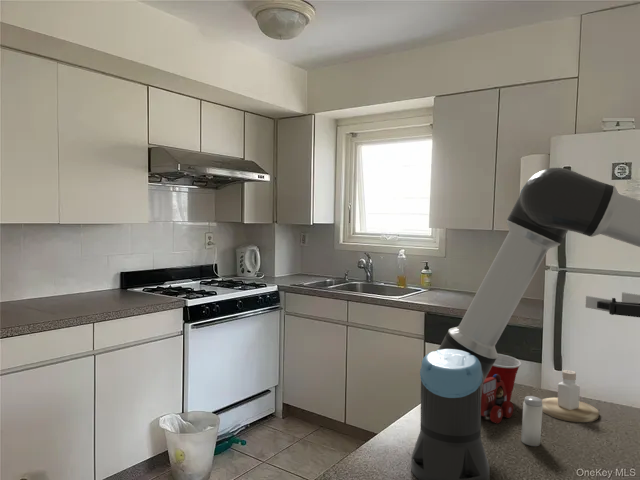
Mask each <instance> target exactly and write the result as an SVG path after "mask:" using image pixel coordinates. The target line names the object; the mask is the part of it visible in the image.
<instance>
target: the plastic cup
mask: <svg viewBox="0 0 640 480" xmlns="http://www.w3.org/2000/svg"><path fill="white" fill-rule="evenodd" d="M497 354H498V357H497V358H496V360H495V362H494V364H493V366H492V368H491V369H490V371H489V373H488V375H487V377H486V378H489V377H493V375H494V374H498V375H500V377H501V380H502V381H503V382H504V385H505V389H506V392H507V401H509V402H511V399H512V394H513V390H514V386H515V383H516V382H515V381H516V378H517V377H516V376H517V373H518V370H519V368H520V367H521V366H522V362H521V360H519V359H517V358H516V357H513V356H511V355H506V354H502V353H497ZM486 378H485V379H486Z"/></svg>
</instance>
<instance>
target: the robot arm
mask: <svg viewBox="0 0 640 480" xmlns="http://www.w3.org/2000/svg"><path fill="white" fill-rule="evenodd" d="M506 223H507V228H508V233H507V235H506V237H505V238H504V240H503V241H502V244H501V246H500V248H499V249H498V252H497V254H496V255H495V257H494V259H493V261H492V263H491V265H490V267H489V268H488V271H487V272H486V274H485V276H484V278H483V280H482V281H481V284H480V285H479V288H478V289H477V291H476V293H475V295H474V297H473V299H472V300H471V302H470V305H469V306H468V308H467V310H466V312H465V314H464V315H463V317H462V319H461V321H460V323H459V324H458V326H455V327H454V326H453V327H451V328H449V329H448V331H447V333H446V334H445V336H444V338H443V340H442V342H441V344H440V346H439V347H438V348H437V349H436V350H435V351H430V352H428V353H427V354H425V356H424V357H423V358H422V361H421V366H420V371H419V377H420V431H419V433H418V437H417V439H416V442H415V445H414V449H413V451H412V454H411V459H410V460H411V461H410V465H411V466H410V470H411V472H412V474H413V476H415V478H416V479H417V480H490V471H491V470H490V464H489V461H488V457H487V455H486V450H485V448H484V444H483V441H482V437H481V436H482V434H481V433H482V432H481V428H482V425H481V424H482V416H481V396H482V389H483V383H484V380H485V378H486V377H487V375H488V373H489V371H490V369H491V368H492V366H493V364H494V362H495V360H496V358H497V357H498V354H499V353H498V352H497V349H496V345H497V343H498V341H499V340H500V338H501V336H502V334H503V332H504V331H505V328H506V327H507V325H508V323H509V321H510V320H511V317H512V316H513V313H514V312H515V310H516V308H517V307H518V305H519V304H520V301H521V299H522V298H523V295H524V294H525V293H526V291H527V289H528V287H529V285H530V283H531V282H532V280H533V278H534V276H535V275H536V273H537V271H538V269H539V267H540V266H541V263H542V262H543V260H544V258H545V257H546V255H547V254H548V251H549V250H550V249H552V248H555V247H559V246H560V245H561V244H562V242H563V240H564V239H565V237H566V235H567V233H568V232H574V233H579V234H582V235H585V236H588V237H590V238H592V237H593V238H594V237H596V236H599V235H601V236H605V237H609V238H611V239H614V240H617V241H621V242H622V243H627V244H629V245H632V246H635V247H639V248H640V199H637V198H633V197H630V196H627V195H624V194H621V193H619V191H618V189H617V188H616V186H615V185H612V184H608V183H605V182H603V181H602V182H601V181H599V180H596V179H593V178H591V177H589V176H586V175H583V174H581V173H579V172H577V171H573V170H571V169H567V168H564V167H550V168H549V167H548V168H545V169H542V170H540V171H538V172H536V173H535V174H533V175H532V176H531V177H530V178H529V179H528V180H527V181H526V182H525V184H524V185H523V187H522V189H521V191H520V193H519V196H518V198H517V200H516V202H515V203H514V206H513V207H512V209H511V211H510V214H509V216H508V217H507V219H506ZM616 300H617V299H616V298H615V297H611V299H609V298H604V297H600V296H591V295H585V308H586V309H591V310H592V309H593V310H597V311H603V312H607V313H609V315H611V316H614V315H615V316H623V317H624V316H625V317H630V318H631V317H633V318H640V294H638V293H631V292H625V291H624V292H621V301H616Z"/></svg>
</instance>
